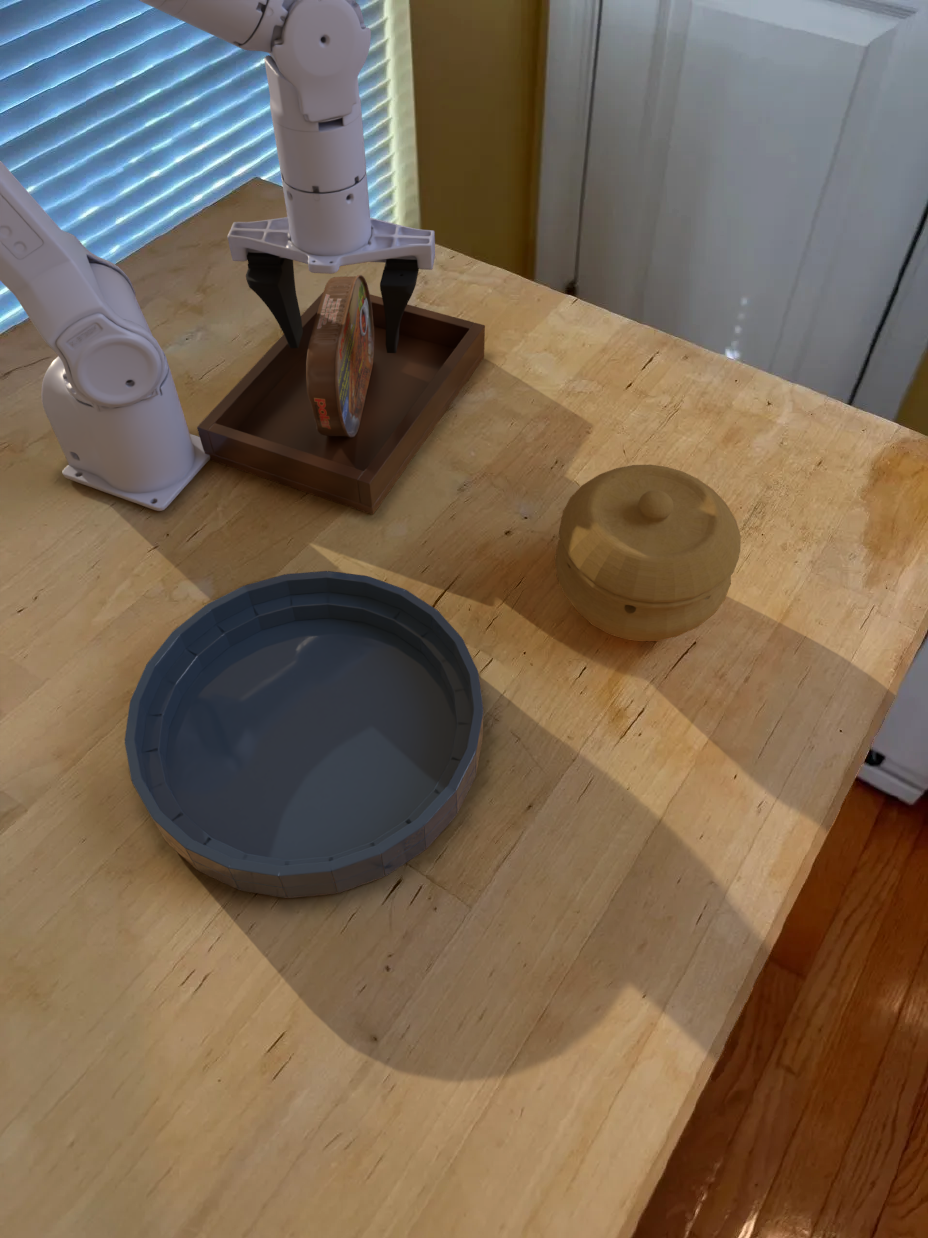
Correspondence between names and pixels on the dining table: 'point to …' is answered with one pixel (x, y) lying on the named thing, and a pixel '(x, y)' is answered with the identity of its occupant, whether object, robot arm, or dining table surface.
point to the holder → (391, 419)
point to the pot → (646, 552)
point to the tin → (341, 356)
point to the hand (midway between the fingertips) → (344, 342)
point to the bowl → (306, 733)
